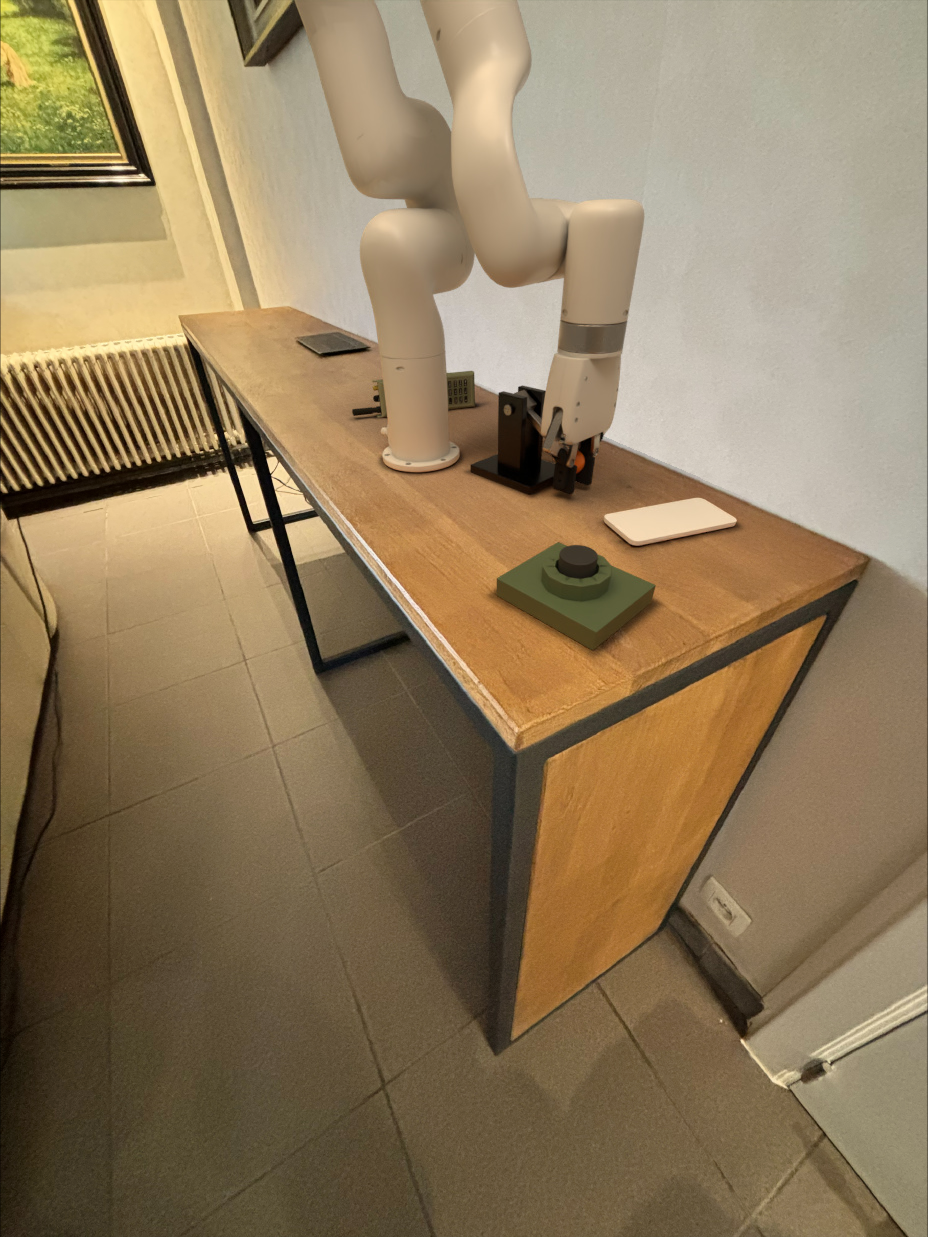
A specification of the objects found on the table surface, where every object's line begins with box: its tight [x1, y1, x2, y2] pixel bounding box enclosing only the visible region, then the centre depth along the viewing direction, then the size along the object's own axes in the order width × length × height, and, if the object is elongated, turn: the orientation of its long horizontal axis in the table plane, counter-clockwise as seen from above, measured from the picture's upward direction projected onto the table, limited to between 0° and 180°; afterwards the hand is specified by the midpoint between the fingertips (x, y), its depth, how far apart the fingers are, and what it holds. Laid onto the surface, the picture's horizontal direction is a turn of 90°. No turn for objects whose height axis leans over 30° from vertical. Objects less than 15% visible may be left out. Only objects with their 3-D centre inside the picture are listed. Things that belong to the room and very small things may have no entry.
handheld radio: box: [351, 370, 476, 419], centre depth 99 cm, size 7×3×25 cm
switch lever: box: [513, 390, 585, 473], centre depth 68 cm, size 14×3×3 cm, turn 43°
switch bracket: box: [469, 385, 555, 496], centre depth 72 cm, size 12×9×12 cm
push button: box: [558, 544, 599, 579], centre depth 48 cm, size 4×4×2 cm
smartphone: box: [603, 497, 737, 546], centre depth 62 cm, size 7×1×15 cm
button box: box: [495, 541, 656, 651], centre depth 49 cm, size 12×10×4 cm
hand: (572, 485), depth 69 cm, fingers closed on switch lever, 3 cm apart
